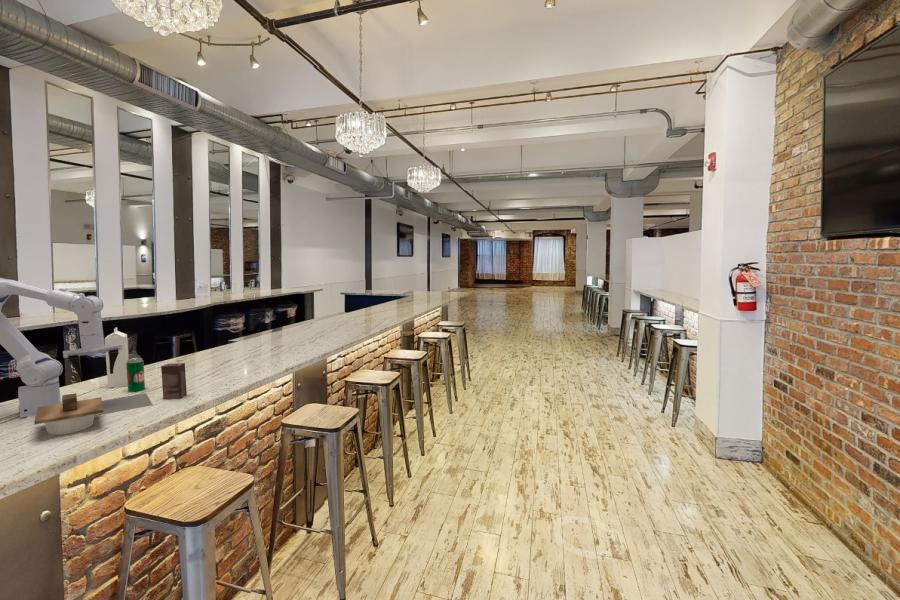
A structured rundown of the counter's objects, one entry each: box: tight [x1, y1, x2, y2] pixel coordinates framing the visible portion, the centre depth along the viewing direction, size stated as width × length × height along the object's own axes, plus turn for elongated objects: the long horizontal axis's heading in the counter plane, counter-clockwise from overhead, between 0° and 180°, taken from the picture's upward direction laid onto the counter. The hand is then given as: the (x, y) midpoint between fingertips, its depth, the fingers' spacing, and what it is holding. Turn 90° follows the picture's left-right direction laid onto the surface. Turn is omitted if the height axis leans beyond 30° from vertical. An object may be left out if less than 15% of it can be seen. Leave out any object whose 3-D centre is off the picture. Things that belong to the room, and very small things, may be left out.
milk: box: [104, 327, 130, 389], centre depth 162 cm, size 6×6×22 cm
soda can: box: [126, 357, 146, 393], centre depth 155 cm, size 5×5×12 cm
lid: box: [33, 392, 103, 426], centre depth 121 cm, size 14×14×4 cm
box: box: [160, 362, 188, 400], centre depth 148 cm, size 6×4×12 cm
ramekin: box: [44, 414, 95, 435], centre depth 121 cm, size 11×11×5 cm
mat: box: [94, 393, 154, 417], centre depth 141 cm, size 16×16×1 cm
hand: (96, 375), depth 138 cm, fingers open, 7 cm apart
